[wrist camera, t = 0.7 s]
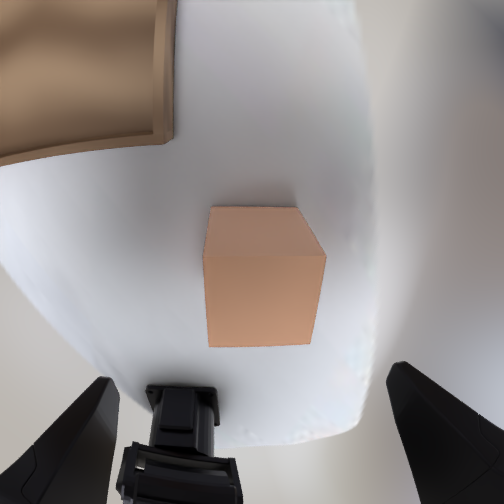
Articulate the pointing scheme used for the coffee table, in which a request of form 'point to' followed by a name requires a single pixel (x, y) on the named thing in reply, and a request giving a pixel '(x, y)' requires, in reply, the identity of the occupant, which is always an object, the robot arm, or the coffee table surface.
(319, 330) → the coffee table surface
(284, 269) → the terracotta block
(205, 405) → the robot arm
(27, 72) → the walnut tray
